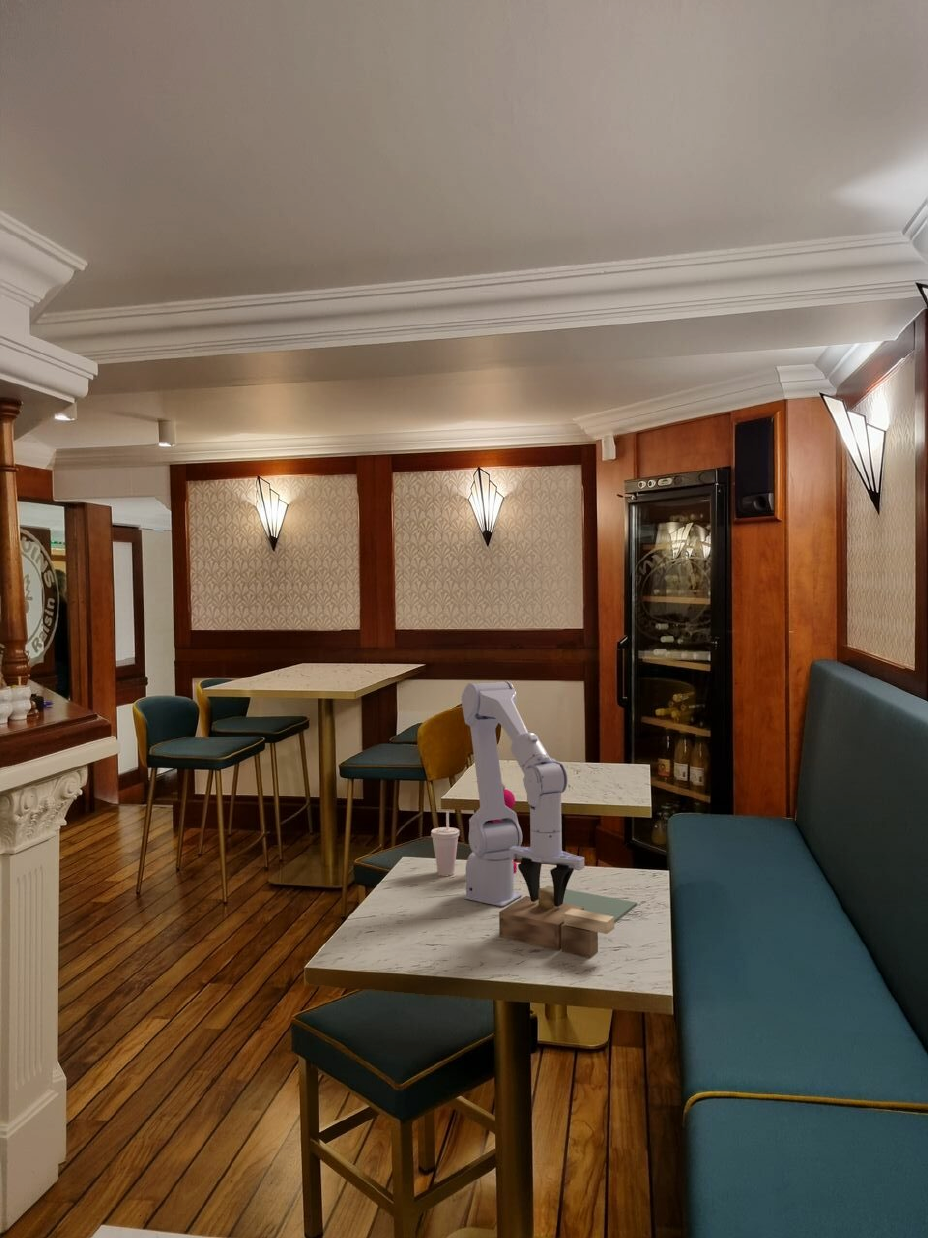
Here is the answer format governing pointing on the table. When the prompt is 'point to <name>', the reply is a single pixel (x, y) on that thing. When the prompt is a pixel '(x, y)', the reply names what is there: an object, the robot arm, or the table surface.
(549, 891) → the lid
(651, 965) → the table surface
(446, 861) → the smoothie
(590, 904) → the mat
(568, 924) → the block
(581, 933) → the open wooden box
